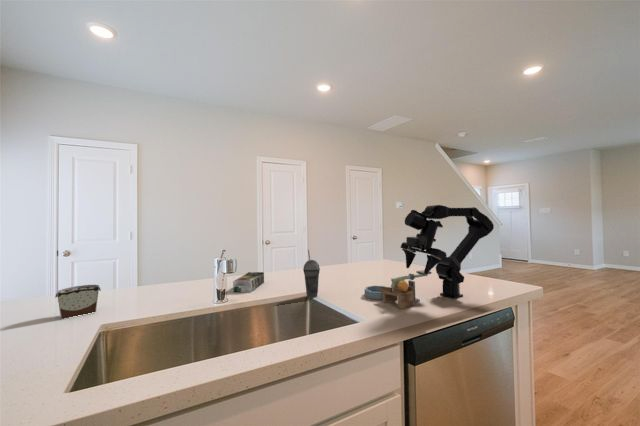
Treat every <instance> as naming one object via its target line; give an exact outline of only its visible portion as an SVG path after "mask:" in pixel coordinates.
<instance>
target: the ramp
mask: <svg viewBox="0 0 640 426" xmlns="http://www.w3.org/2000/svg"><path fill="white" fill-rule="evenodd" d="M380 286H381V287H380V293H382V294H383V300H382V302H383V303H389V302H393V301H394V302H395V301H397V307H398V309H406V308H410V307H414V306H415V303H414V295H413V291H414V290H413V286H409V285H408V290H407V291H405V292H402V289H400V288H393V291H392V284H390V286H385V287H383V286H384V285H380Z"/></svg>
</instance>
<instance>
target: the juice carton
mask: <svg viewBox="0 0 640 426" xmlns="http://www.w3.org/2000/svg"><path fill="white" fill-rule="evenodd" d="M264 283H265V272H263V271H262V272H261V271H258V272H257V271H256V272H255V271H253V272H251V271H249V272H247V273H245V274H244V275H242V276H240V277H239V278H236V279H235V280H233V281H232V286H233V287H232V292H233V293H238V292H239V293H253V292H254V291H255V290H256V289H258V288H259V287H260V286H261V285H263V284H264Z"/></svg>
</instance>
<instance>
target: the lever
mask: <svg viewBox="0 0 640 426" xmlns="http://www.w3.org/2000/svg"><path fill="white" fill-rule="evenodd" d="M424 271H425V269H422V270H416V274H414V273H412V272H411V273H408V275H403V276H398V277H392V278H391V279H390V281H391V285H392V291H393V288H397V284H398V282H400V281H406V280H411V281H414V280H415V279H417V278H423V277H428V275H431V274H432V271H431V270H430V271H429V272H428V273H427V274H424Z"/></svg>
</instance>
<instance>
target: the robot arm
mask: <svg viewBox="0 0 640 426" xmlns="http://www.w3.org/2000/svg"><path fill="white" fill-rule="evenodd" d="M450 217H465V219H466V223H467V225H468V227H467V229H468V232H467V234H466V235H465V236H464V237H463V239H462V240H461V241H460V242H459V243H458V245H457V246H456V248H455V249H454V250H453V252H452V253H451V254H450V255H449V256H448V255H447V252H445V251H443V250H441V249H439V248H435V247H432V246H433V243H436V242H437V239H436V238H435V236H436V233H437V231H438V228H443V227H444V226H443V223H441V221H440V220H442V219H446V218H447V219H448V218H450ZM404 224H405V225H406V226H408V227H410V228H412V229H415V230H417V231H419V233H417V234H416V236H406V238H405V239H406V242H405V241H404V242H402V243H401V244H400V249H401V250H402V251H403V252H404V254H405V267H406V268H407V269H410V267H411V265H412V263H413V261H414V259H415V257H416V255H417V254H416V253H417V252H418V253H423V254H425V255H426V258H427V260H426V264H425V266H424V267H425V268H424V270H425V271H424V274H427V273H428V272H429V271H430V272H431V270H432V269H434V267H435V272H436V274H437V276H438V279H440V280H442V292H440V293H439V295H440V296H444V297H448V298H450V299H456V298H461V297H464V294H463V293H461V291H460V290H461V289H460V288H461V287H460V284H461V283H464V282H465V276H464V275H463V274H462V273H461V269H462V267H461V265H462V262H463V261H464V260H465V258H466V257H467V256H468V255H469V253H470V252H471V251H472V249H473V248H474V247H475V246H476V245H477V244H478V242H479V241H480V240H481V239H482V238H485V237H486V236H488V235H490V233H492V231H493V230H494V228H495V227H494V223H493V221H492V220H491V218H489V217H488V216H487V215H486V214H484V213H482V212H481V211H480V210H479V209H478V208H477V207H473V206H472V207H448V206H446V205H442V204H434V205H433V204H432V205H426V207H425V209H424V210H423V211H422V212H421V211H420V212H419V211H417V210H415V209H411V210H410V212H409V213H408V214H407V215H406V217H405V218H404Z"/></svg>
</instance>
